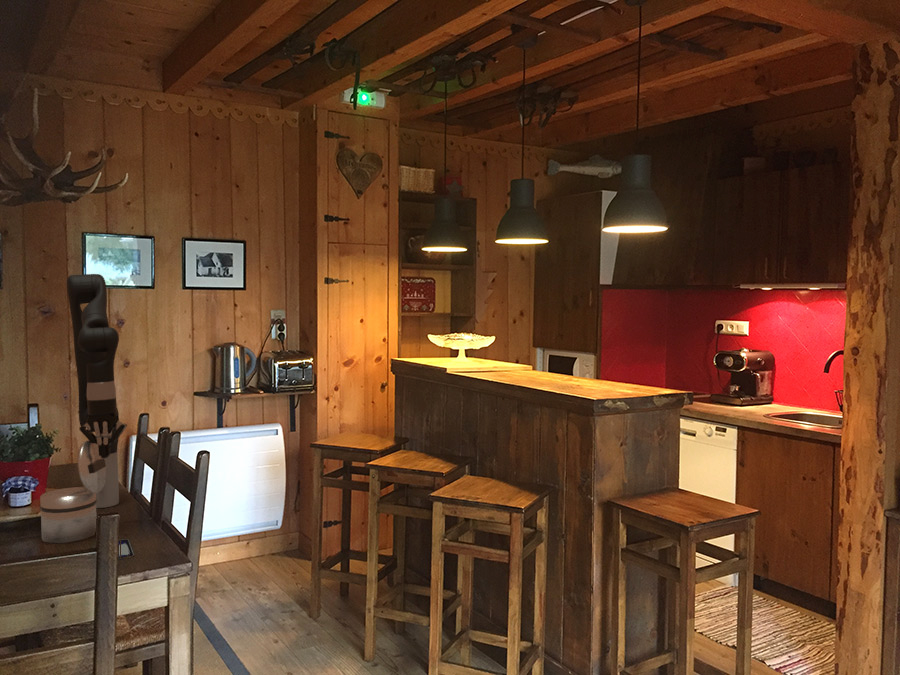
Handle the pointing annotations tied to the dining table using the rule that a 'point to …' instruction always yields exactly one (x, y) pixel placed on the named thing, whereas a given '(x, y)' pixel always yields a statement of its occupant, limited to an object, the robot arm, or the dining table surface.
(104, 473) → the lid
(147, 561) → the dining table surface
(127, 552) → the smartphone
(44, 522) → the pot
